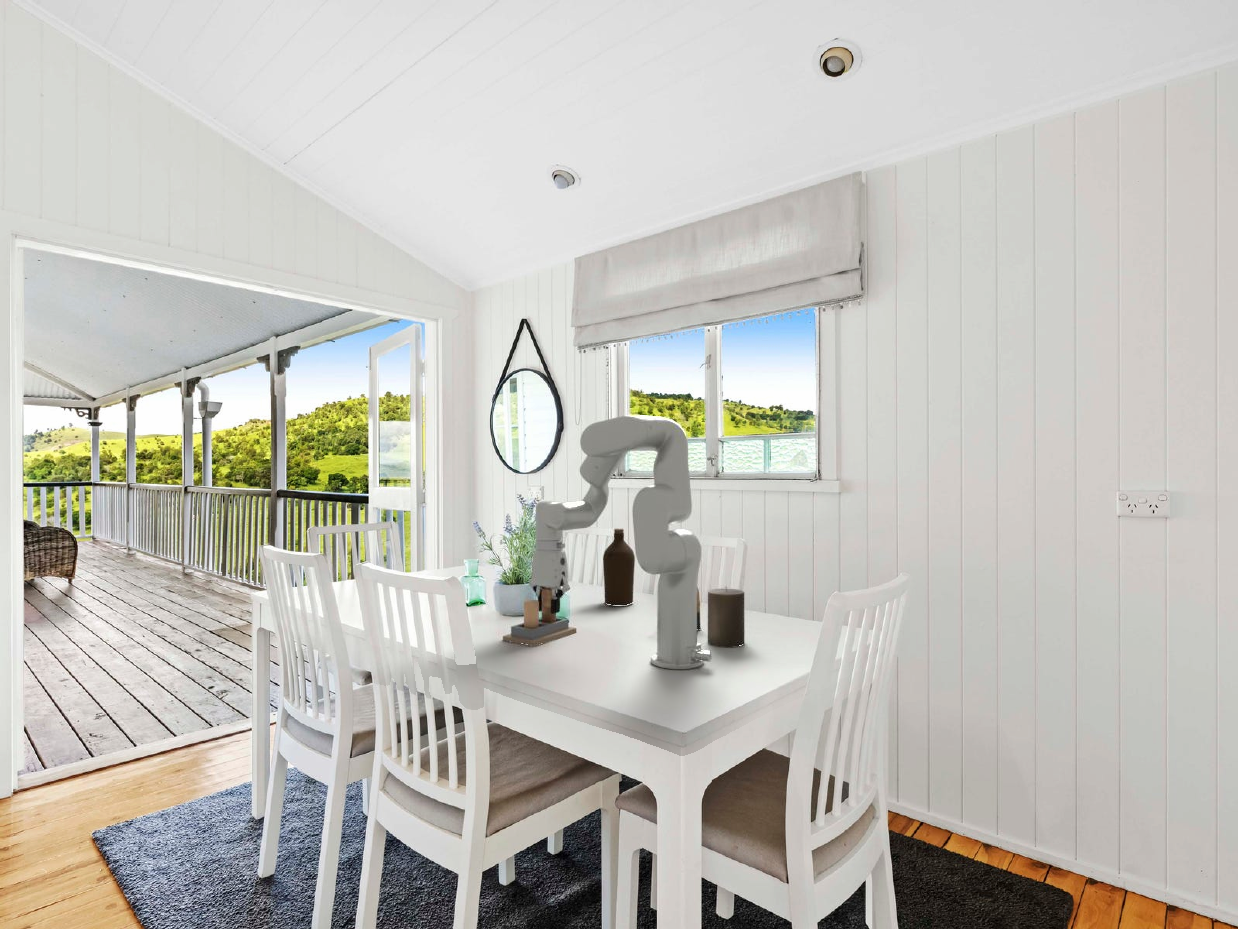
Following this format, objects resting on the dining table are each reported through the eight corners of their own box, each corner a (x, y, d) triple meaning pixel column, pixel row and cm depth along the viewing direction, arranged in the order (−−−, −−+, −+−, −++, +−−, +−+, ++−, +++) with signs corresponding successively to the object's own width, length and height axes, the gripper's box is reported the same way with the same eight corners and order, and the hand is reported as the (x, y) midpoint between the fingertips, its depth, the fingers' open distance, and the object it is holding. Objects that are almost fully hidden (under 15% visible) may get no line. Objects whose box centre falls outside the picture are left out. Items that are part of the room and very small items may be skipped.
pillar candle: (743, 648, 182) (744, 590, 182) (705, 646, 184) (706, 588, 184) (744, 639, 192) (745, 584, 192) (708, 637, 194) (709, 582, 194)
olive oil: (633, 607, 232) (633, 530, 232) (601, 607, 233) (601, 530, 233) (635, 601, 243) (635, 527, 243) (604, 600, 244) (604, 527, 244)
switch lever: (559, 620, 199) (559, 588, 198) (549, 623, 195) (550, 590, 195) (547, 618, 201) (547, 587, 201) (538, 621, 197) (538, 589, 197)
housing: (576, 632, 199) (576, 596, 199) (534, 646, 184) (534, 607, 184) (545, 627, 205) (545, 591, 205) (502, 640, 190) (502, 602, 190)
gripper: (581, 546, 196) (581, 613, 197) (534, 542, 205) (534, 605, 206) (564, 549, 190) (564, 618, 190) (517, 545, 199) (517, 610, 199)
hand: (548, 611), depth 198 cm, fingers closed on switch lever, 4 cm apart
